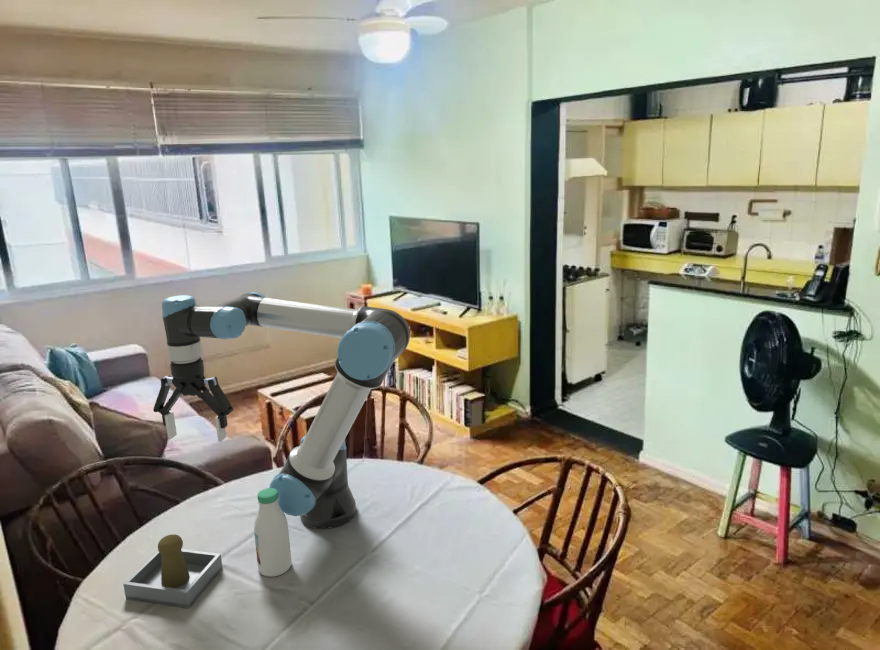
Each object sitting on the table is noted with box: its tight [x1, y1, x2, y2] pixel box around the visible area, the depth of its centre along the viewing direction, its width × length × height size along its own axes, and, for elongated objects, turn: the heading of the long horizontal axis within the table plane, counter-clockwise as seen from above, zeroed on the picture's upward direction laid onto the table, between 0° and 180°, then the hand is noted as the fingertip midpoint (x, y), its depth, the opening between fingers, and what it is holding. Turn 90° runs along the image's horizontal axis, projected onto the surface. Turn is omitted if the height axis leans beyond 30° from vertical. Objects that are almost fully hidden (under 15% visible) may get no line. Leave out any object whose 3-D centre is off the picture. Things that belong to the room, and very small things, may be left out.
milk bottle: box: [253, 487, 292, 578], centre depth 143 cm, size 8×8×20 cm
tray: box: [123, 548, 223, 609], centre depth 140 cm, size 16×14×4 cm
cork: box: [157, 533, 190, 588], centre depth 139 cm, size 6×6×11 cm
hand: (197, 438), depth 155 cm, fingers open, 13 cm apart
